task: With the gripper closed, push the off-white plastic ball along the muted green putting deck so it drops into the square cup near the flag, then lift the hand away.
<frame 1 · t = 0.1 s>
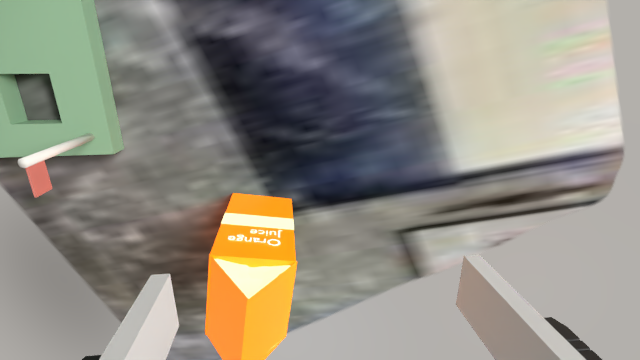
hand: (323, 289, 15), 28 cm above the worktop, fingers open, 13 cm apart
orange juice: (259, 225, 45), on the worktop
putting deck: (20, 4, 34), on the worktop
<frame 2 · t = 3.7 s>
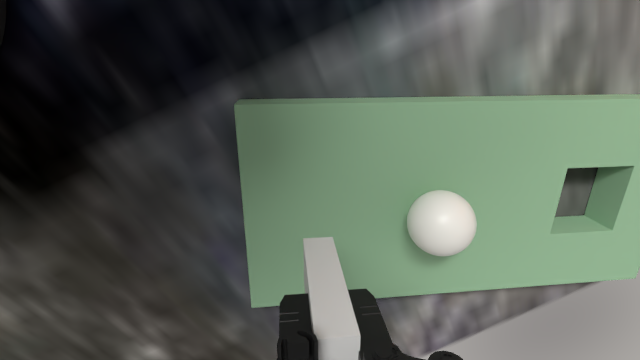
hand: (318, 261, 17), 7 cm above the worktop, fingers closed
ball: (440, 222, 20), point 4 cm above the worktop, touching putting deck
putting deck: (452, 192, 25), on the worktop
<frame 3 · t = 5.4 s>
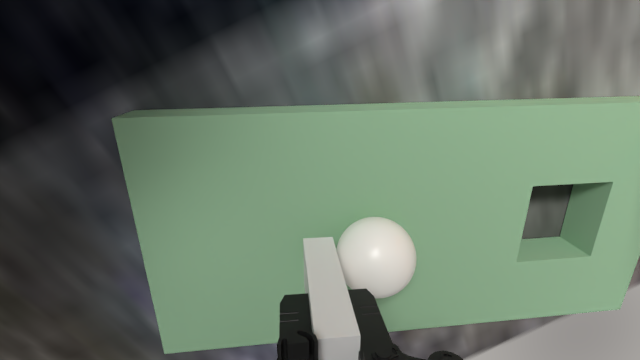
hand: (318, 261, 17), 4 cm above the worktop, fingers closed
ball: (375, 256, 17), point 4 cm above the worktop, touching putting deck
putting deck: (402, 214, 21), on the worktop
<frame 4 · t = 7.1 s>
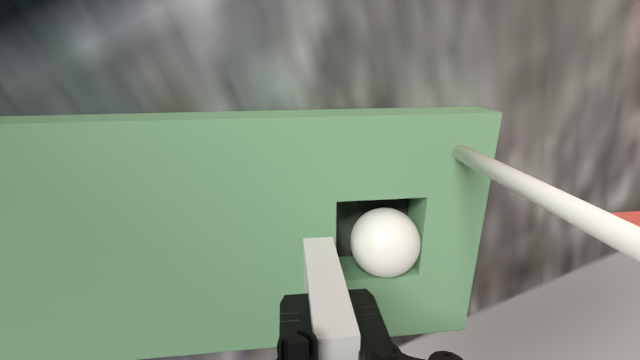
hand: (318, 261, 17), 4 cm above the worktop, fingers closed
ball: (384, 241, 20), point 2 cm above the worktop, tilted 38°
putting deck: (223, 228, 20), on the worktop
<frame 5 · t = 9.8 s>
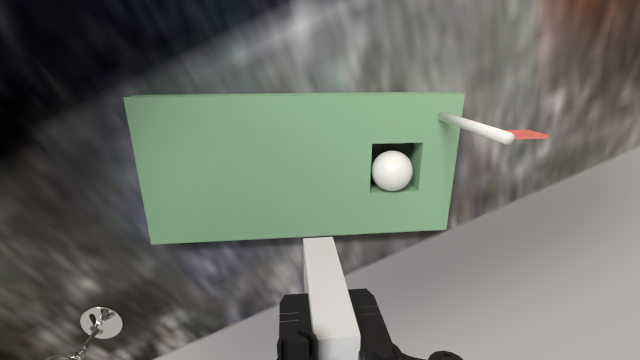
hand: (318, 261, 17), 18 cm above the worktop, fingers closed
ball: (391, 170, 33), point 2 cm above the worktop, tilted 18°
putting deck: (302, 163, 34), on the worktop
wineglass: (102, 321, 38), on the worktop
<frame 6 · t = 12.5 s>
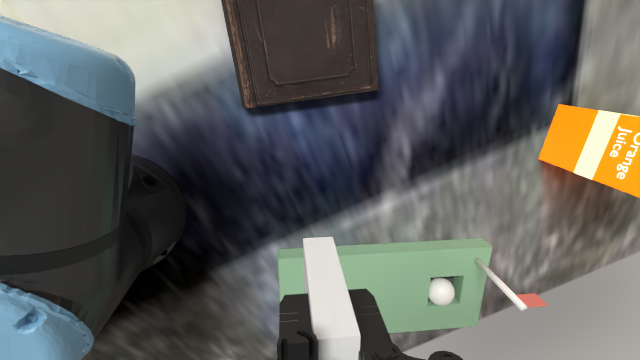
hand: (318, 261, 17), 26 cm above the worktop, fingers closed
ball: (440, 291, 50), point 2 cm above the worktop, tilted 11°
orange juice: (575, 135, 46), on the worktop
putting deck: (380, 284, 51), on the worktop
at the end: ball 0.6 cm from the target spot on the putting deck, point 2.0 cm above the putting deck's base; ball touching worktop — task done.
